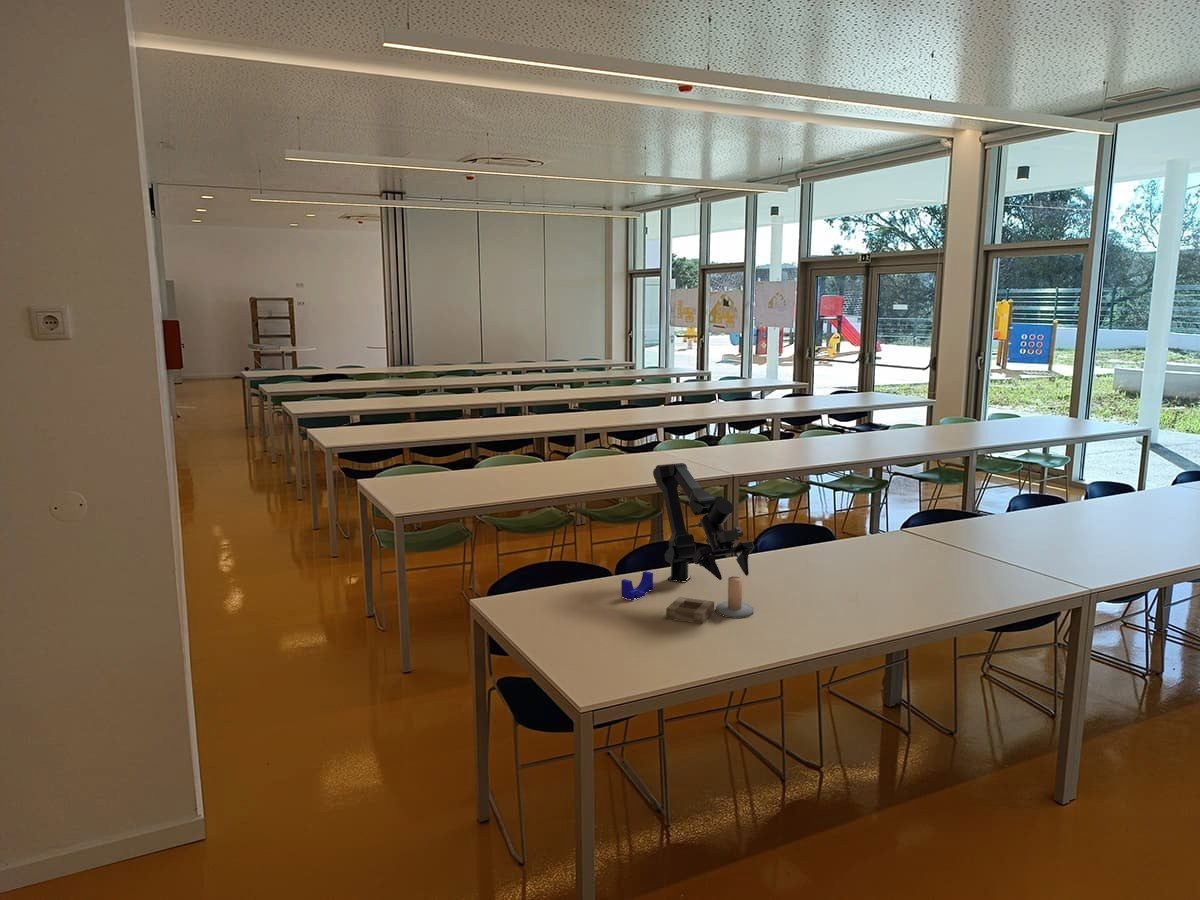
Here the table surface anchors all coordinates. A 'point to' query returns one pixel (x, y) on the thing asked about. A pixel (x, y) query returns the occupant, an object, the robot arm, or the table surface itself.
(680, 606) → the pocket block
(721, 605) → the slate mat
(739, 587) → the post
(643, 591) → the cable clip
